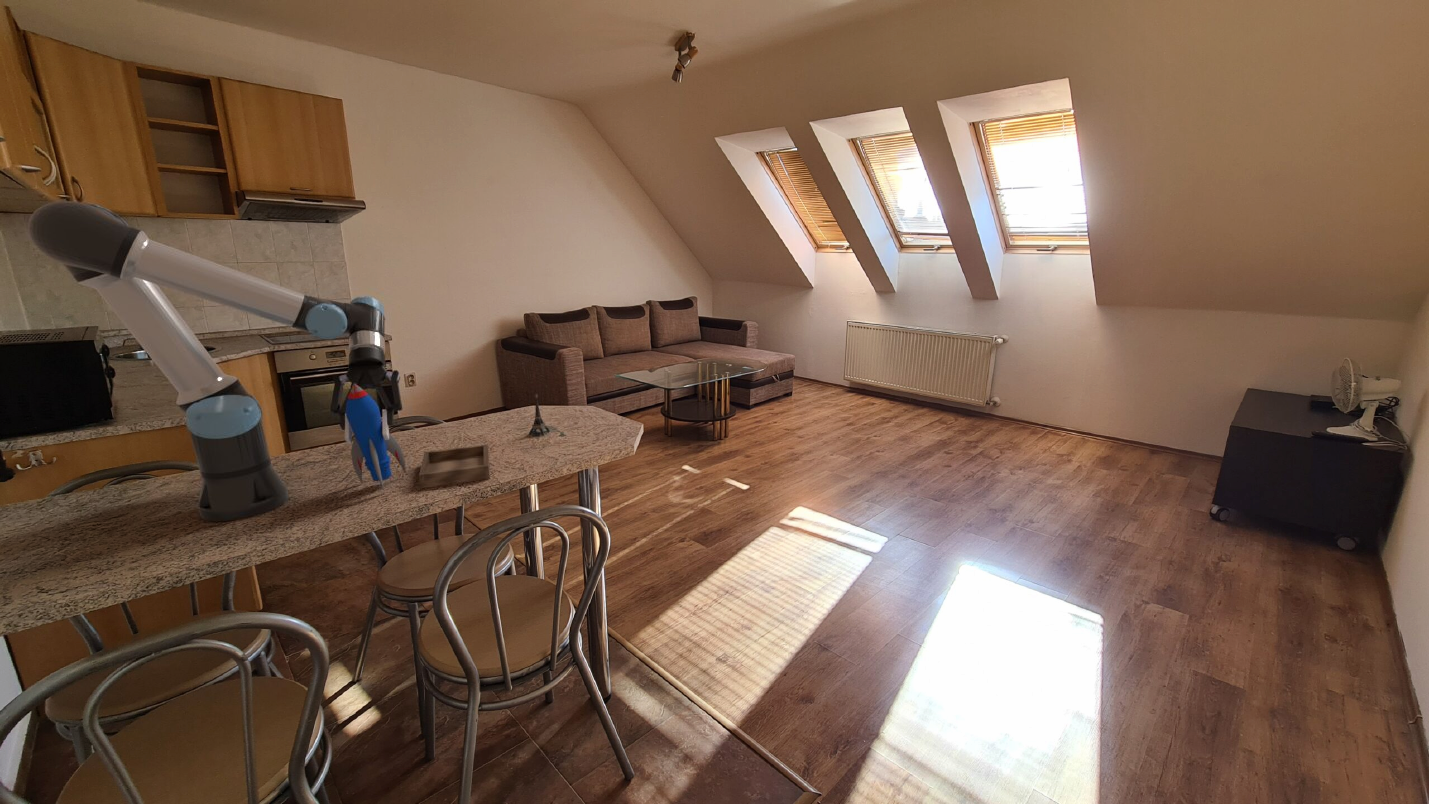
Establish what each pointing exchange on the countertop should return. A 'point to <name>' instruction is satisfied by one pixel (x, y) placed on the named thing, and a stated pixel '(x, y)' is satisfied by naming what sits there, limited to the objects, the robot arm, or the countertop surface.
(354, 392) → the toy rocket
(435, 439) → the countertop surface
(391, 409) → the robot arm
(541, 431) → the eiffel tower figurine
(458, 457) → the cradle
